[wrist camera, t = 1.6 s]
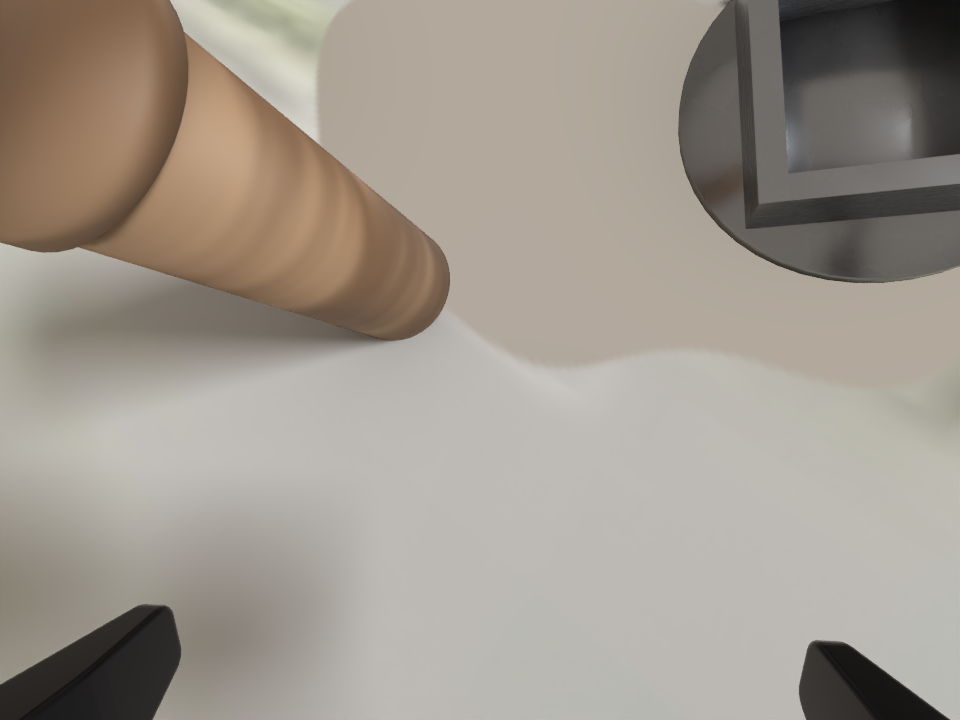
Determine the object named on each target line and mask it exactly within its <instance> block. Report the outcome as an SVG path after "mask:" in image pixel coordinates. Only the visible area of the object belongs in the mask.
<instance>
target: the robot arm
mask: <svg viewBox="0 0 960 720" xmlns="http://www.w3.org/2000/svg"><path fill="white" fill-rule="evenodd" d="M180 658H181V645H180V641H179V636H178V632H177V628H176V623H175V619H174V615H173V612H172V610H171V609H170V608H169V607H168V606H165V605H149V604H144V605H139V606H137V607H135V608H133V609H131V610H130V611H128V612H126V613H124V614H123V615H121V616H119V617H117V618H116V619H114V620H112V621H110V622H109V623H107V624H105V625H103V626H102V627H100V628H98V629H96V630H95V631H93V632H91V633H89V634H88V635H86V636H84V637H82V638H81V639H79V640H77V641H76V642H74V643H72V644H70V645H69V646H67V647H65V648H63V649H62V650H60V651H58V652H56V653H55V654H53V655H51V656H49V657H48V658H46V659H44V660H42V661H41V662H39V663H37V664H35V665H34V666H32V667H30V668H28V669H27V670H25V671H23V672H22V673H20V674H18V675H16V676H15V677H13V678H11V679H9V680H8V681H6V682H4V683H2V684H1V685H0V720H153V718H154V716H155V713H156V711H157V709H158V707H159V705H160V703H161V701H162V699H163V697H164V695H165V693H166V691H167V689H168V687H169V684H170V682H171V680H172V678H173V676H174V674H175V672H176V670H177V668H178V665H179V662H180ZM799 697H800V702H801V706H802V709H803V712H804V715H805V718H806V720H950V719H948V718H947V717H946V716H944V715H943V714H942V713H940V712H939V711H938V710H936V709H935V708H934V707H932V706H931V705H930V704H928V703H927V702H926V701H924V700H923V699H922V698H920V697H919V696H917V695H916V694H915V693H913V692H912V691H911V690H909V689H908V688H907V687H905V686H904V685H903V684H901V683H900V682H899V681H897V680H896V679H895V678H893V677H892V676H891V675H889V674H888V673H886V672H885V671H884V670H882V669H881V668H880V667H878V666H877V665H876V664H874V663H873V662H872V661H870V660H869V659H868V658H866V657H865V656H864V655H862V654H861V653H860V652H858V651H857V650H856V649H854V648H853V647H851V646H850V645H848V644H846V643H844V642H839V641H821V640H816V641H812V642H811V643H810V644H809V646H808V649H807V653H806V657H805V662H804V666H803V670H802V675H801V679H800V684H799Z"/></svg>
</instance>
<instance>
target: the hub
mask: <svg viewBox="0 0 960 720" xmlns="http://www.w3.org/2000/svg"><path fill="white" fill-rule="evenodd" d="M678 135H679V144H680V153H681V157H682V161H683V165H684V168H685V172H686V175H687V177H688V180H689V182H690V184H691V186H692V189H693V191H694V193H695V194H696V196H697V198H698V199H699V201H700V203H701V204H702V206H703V207H704V209H705V210H706V212H707V213H708V214H709V215H710V216H711V218H712V219H713V220H714V221H715V222H716V223H717V225H718V226H719V227H720V228H721V229H722V230H724V231H725V232H726V233H727V234H728V235H729V236H730V237H731V238H733V239H734V240H735V241H736V242H737V243H739V244H740V245H742V246H744V247H745V248H747V249H748V250H749V251H751V252H752V253H754V254H755V255H758V256H759V257H761V258H763V259H765V260H767V261H769V262H771V263H774V264H775V265H778V266H780V267H783V268H786V269H789V270H791V271H794V272H797V273H800V274H804V275H808V276H812V277H817V278H822V279H826V280H834V281H843V282H853V283H884V282H892V281H902V280H911V279H915V278H920V277H924V276H929V275H933V274H938V273H942V272H944V271H947V270H950V269H953V268H956V267H959V266H960V0H731V1H730V2H729V3H728V4H727V6H726V7H725V8H724V9H723V10H722V12H721V13H720V14H719V15H718V17H717V18H716V19H715V20H714V21H713V23H712V24H711V26H710V27H709V29H708V31H707V32H706V34H705V36H704V37H703V39H702V40H701V42H700V44H699V46H698V48H697V50H696V52H695V54H694V56H693V58H692V61H691V63H690V66H689V69H688V72H687V75H686V78H685V81H684V85H683V90H682V96H681V102H680V109H679V132H678Z"/></svg>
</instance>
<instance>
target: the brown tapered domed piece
mask: <svg viewBox="0 0 960 720" xmlns="http://www.w3.org/2000/svg"><path fill="white" fill-rule="evenodd" d="M0 242H1V243H4V244H8V245H12V246H15V247H19V248H23V249H26V250H30V251H37V252H60V251H65V250H70V249H73V248H76V247H79V248H83V249H86V250H89V251H93V252H96V253H99V254H103V255H106V256H109V257H112V258H116V259H119V260H122V261H126V262H129V263H132V264H136V265H139V266H142V267H146V268H149V269H152V270H155V271H159V272H162V273H165V274H169V275H172V276H175V277H179V278H182V279H185V280H189V281H192V282H195V283H198V284H202V285H205V286H208V287H212V288H215V289H218V290H222V291H225V292H228V293H231V294H235V295H238V296H241V297H245V298H248V299H251V300H255V301H258V302H261V303H265V304H268V305H271V306H274V307H278V308H281V309H284V310H288V311H291V312H294V313H298V314H301V315H304V316H308V317H311V318H314V319H317V320H321V321H324V322H327V323H331V324H334V325H337V326H341V327H344V328H347V329H351V330H354V331H357V332H360V333H364V334H367V335H370V336H374V337H377V338H380V339H385V340H402V339H406V338H410V337H412V336H415V335H417V334H418V333H420V332H422V331H423V330H425V329H426V328H427V327H428V326H429V325H431V324H432V323H433V322H434V320H435V319H436V318H437V317H438V315H439V314H440V312H441V310H442V309H443V307H444V304H445V302H446V299H447V296H448V292H449V286H450V272H449V267H448V263H447V260H446V258H445V255H444V253H443V252H442V250H441V249H440V247H439V246H438V245H437V243H436V242H435V241H434V240H432V239H431V238H430V237H429V236H428V235H426V234H425V233H424V232H423V231H422V230H420V229H419V228H418V227H417V226H416V225H414V224H413V223H412V222H411V221H409V220H408V219H407V218H406V217H405V216H404V215H403V214H401V213H400V212H399V211H398V210H397V209H395V208H394V207H393V206H392V205H391V204H389V203H388V202H387V201H386V200H384V199H383V198H382V197H381V196H380V195H379V194H377V193H376V192H375V191H374V190H372V189H371V188H370V187H369V186H368V185H367V184H365V183H364V182H363V181H362V180H361V179H359V178H358V177H357V176H356V175H355V174H353V173H352V172H351V171H350V170H349V169H347V168H346V167H345V166H344V165H343V164H341V163H340V162H339V161H338V160H336V159H335V158H334V157H333V156H332V155H331V154H330V153H328V152H327V151H326V150H325V149H324V148H322V147H321V146H320V145H319V144H318V143H316V142H315V141H314V140H313V139H312V138H310V137H309V136H308V135H307V134H306V133H304V132H303V131H302V130H301V129H300V128H298V127H297V126H296V125H295V124H294V123H292V122H291V121H290V120H289V119H288V118H286V117H285V116H284V115H283V114H282V113H280V112H279V111H278V110H277V109H276V108H274V107H273V106H272V105H271V104H270V103H268V102H267V101H266V100H265V99H264V98H262V97H261V96H260V95H259V94H258V93H257V92H255V91H254V90H253V89H252V88H251V87H249V86H248V85H247V84H246V83H245V82H243V81H242V80H241V79H240V78H239V77H237V76H236V75H235V74H234V73H233V72H231V71H230V70H229V69H228V68H227V67H225V66H224V65H223V64H222V63H221V62H219V61H218V60H217V59H216V58H215V57H213V56H212V55H211V54H210V53H209V52H207V51H206V50H205V49H204V48H203V47H201V46H200V45H199V44H198V43H197V42H195V41H194V40H193V39H192V38H191V37H189V36H188V35H187V34H186V33H185V32H184V31H183V27H182V25H181V22H180V20H179V17H178V15H177V12H176V11H175V9H174V7H173V5H172V4H171V2H170V0H0Z"/></svg>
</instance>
